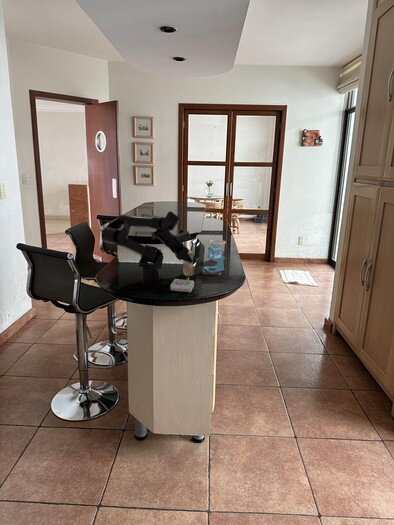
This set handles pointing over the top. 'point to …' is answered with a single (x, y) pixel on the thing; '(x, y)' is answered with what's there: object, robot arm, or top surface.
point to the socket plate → (182, 285)
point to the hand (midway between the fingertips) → (190, 260)
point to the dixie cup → (217, 245)
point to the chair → (216, 257)
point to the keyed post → (188, 266)
